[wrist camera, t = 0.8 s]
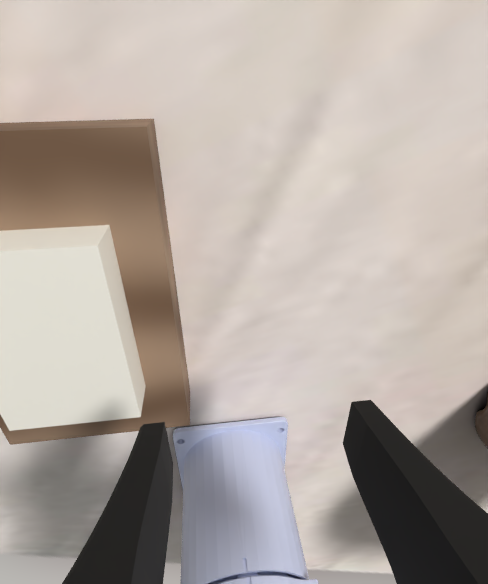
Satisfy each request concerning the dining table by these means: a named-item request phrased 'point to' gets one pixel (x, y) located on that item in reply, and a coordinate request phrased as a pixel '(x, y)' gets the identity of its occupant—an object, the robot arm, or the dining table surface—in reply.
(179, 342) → the walnut board
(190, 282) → the dining table surface
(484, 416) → the plant pot
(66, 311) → the cream block
